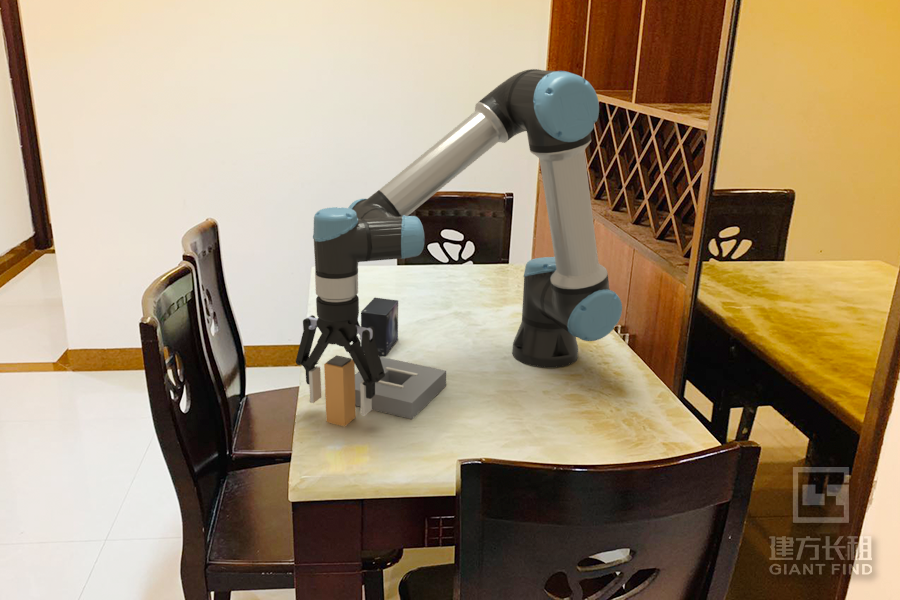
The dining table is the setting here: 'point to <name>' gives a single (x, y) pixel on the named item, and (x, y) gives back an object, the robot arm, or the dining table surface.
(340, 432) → the dining table surface
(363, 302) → the dining table surface
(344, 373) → the plug
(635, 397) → the dining table surface
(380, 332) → the small box
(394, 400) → the socket
